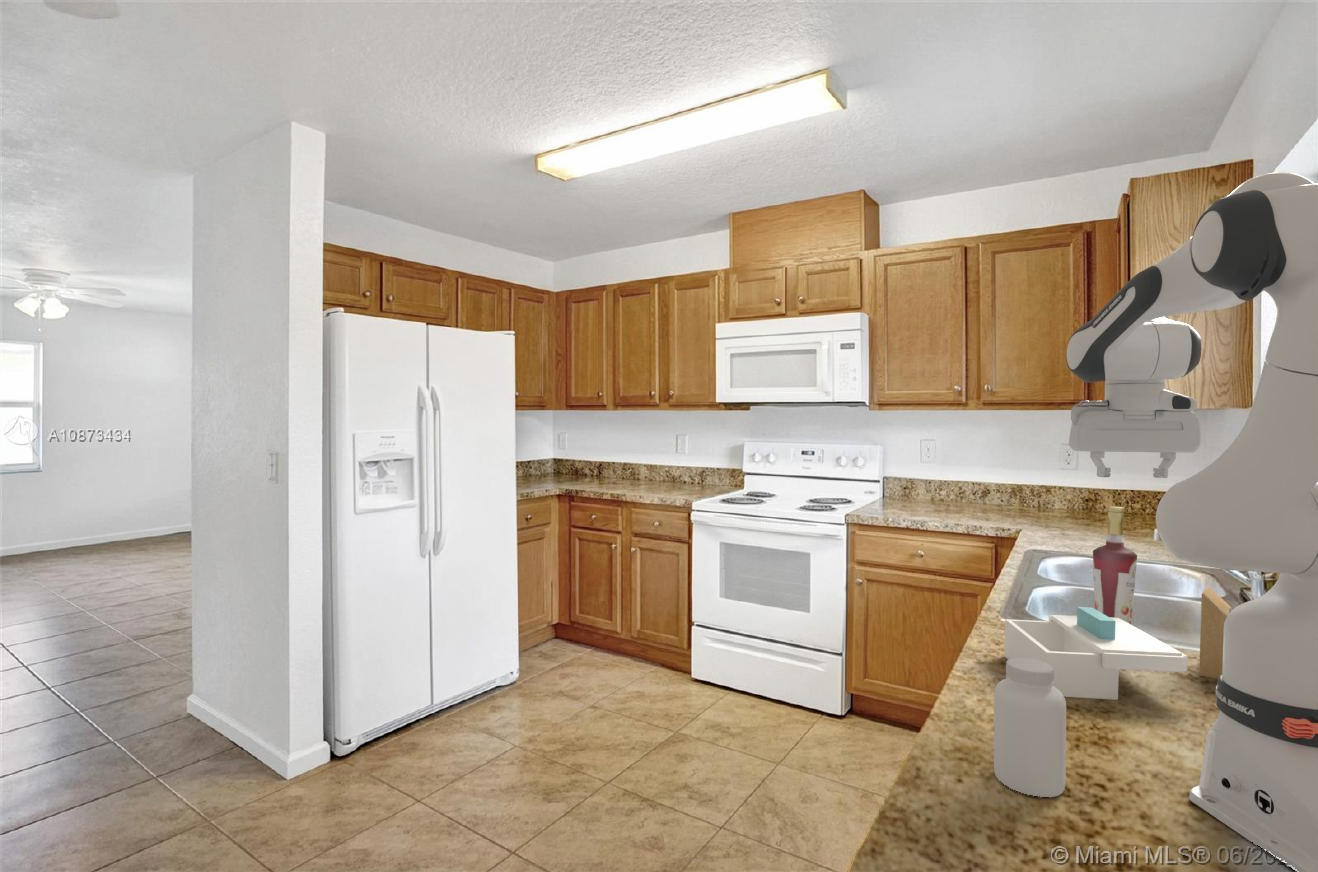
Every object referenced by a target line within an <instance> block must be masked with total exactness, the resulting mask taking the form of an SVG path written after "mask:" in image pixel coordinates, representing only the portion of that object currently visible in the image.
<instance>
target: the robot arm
mask: <svg viewBox="0 0 1318 872" xmlns="http://www.w3.org/2000/svg"><path fill="white" fill-rule="evenodd" d="M1263 292H1266V293H1267V294H1268V295H1269V296H1270V297H1271V298H1272V300H1273V301H1274V304H1275V307H1276V317H1275V319H1276V320H1275V323H1274V328H1273V330H1272V334H1271V337H1270V340H1269V343H1268V347H1267V350H1266V354H1265V356H1264V357H1265V359H1264V362H1263V366H1262V370H1261V374H1260V378H1259V382H1258V385H1257V388H1256V392H1255V395H1254V399H1253V402H1252V405H1251V408H1250V410H1249V411H1250V412H1249V414H1248V417H1247V419H1246V421H1245V424H1244V425H1243V427H1242V429H1241V430H1240V432H1239V434H1238V435H1237V436H1236V437H1235V439H1234V440H1233V441H1232V443H1231V444H1230V445H1229V446H1228V447H1227V449H1226V450H1225V451H1224V452H1222V453H1221V454H1220V455H1219V456H1218V457H1217V458H1216V459H1215V460H1214V461H1212V462H1211V463H1210V464H1209V465H1208V466H1206V467H1205V468H1203V469H1202V470H1200V471H1199V472H1196V473H1195V474H1194V475H1192V476H1190V477H1188V478H1186V479H1184V480H1182V481H1180V482H1177V483H1175V484H1173V485H1172V486H1171V487H1170V488H1168V490H1167V491H1166V492H1165V493H1164V494H1163V495H1162V497H1161V499H1160V501H1159V503H1158V505H1157V508H1156V513H1155V526H1156V531H1157V533H1158V535H1159V538H1160V539H1161V543H1163V545H1164V546H1165V547H1166V549H1167V550H1168V551H1169V552H1170V553H1171V554H1172V555H1173V556H1174V557H1175V558H1177V559H1178V560H1181V561H1185V562H1189V563H1193V564H1197V565H1200V566H1205V567H1210V568H1214V569H1221V570H1226V571H1240V572H1241V571H1242V572H1255V573H1256V572H1260V573H1275V574H1276V573H1279V576H1278V579H1277V580H1276V582H1274V585H1273V586H1272V587H1271V588H1270V589H1269V590H1268V591H1267V592H1265V593H1264V594H1263V595H1260V596H1259V597H1256V598H1254V599H1252V600H1249V601H1246V602H1243V603H1241V604H1239V605H1237V606H1236V607H1234V608H1232V609H1233V610H1232V611H1231V612H1230V614H1229V615H1228V616H1227V618H1226V620H1225V623H1224V642H1223V669H1222V675H1220V676H1219V677H1218V679H1217V685H1216V686H1215V695H1216V703H1215V704H1216V706H1217V709H1218V710H1219V713H1218V716H1217V717H1216V720H1215V721H1214V723H1213V725H1212V726H1211V728H1210V729H1209V730H1208V731H1207V734H1206V736H1205V737H1206V739H1205V743H1204V750H1203V757H1202V764H1201V771H1200V779H1199V784H1198V785H1195V786H1193V788H1192V787H1191V789H1190V791H1189V797H1188V798H1189V800H1190V801H1191V802H1192V803H1193V804H1195V805H1196V806H1198V807H1199V808H1201V809H1202V810H1204V811H1205V812H1207V813H1209V814H1210V815H1211V816H1213V817H1215V819H1217V820H1219V821H1220V822H1221V823H1223V824H1224V825H1226V826H1227V827H1229V828H1230V829H1232V830H1233V831H1235V832H1236V833H1238V834H1239V835H1240V836H1242V837H1244V838H1245V839H1246V840H1248V841H1249V842H1251V843H1252V842H1253V843H1252V844H1254V845H1255V846H1257V845H1258V846H1260V847H1262V848H1263V849H1266V850H1267V851H1270V852H1271V853H1272V854H1273V855H1275V856H1277V857H1279V858H1281V859H1282V860H1285V862H1287V863H1288V864H1289V865H1292V866H1293V867H1295V869H1297V871H1299V872H1318V183H1314V182H1313V181H1311V180H1310V179H1308V178H1306V177H1305V176H1302V175H1299V174H1296V173H1293V172H1292V173H1291V172H1281V171H1280V172H1279V171H1278V172H1270V173H1269V172H1268V173H1264V174H1260V175H1257V176H1254V177H1252V178H1249V179H1247V180H1246V181H1244V182H1243V183H1241V184H1240V185H1238V187H1236V188H1235V189H1234V190H1233V191H1232V192H1231V193H1230V194H1228V195H1227V196H1224V197H1222V198H1219V199H1217V200H1215V201H1214V202H1212V203H1211V204H1210V205H1209V206H1208V207H1207V208H1206V209H1205V211H1204V212H1202V214H1201V215H1200V216H1199V218H1198V220H1197V221H1196V224H1195V227H1194V229H1193V232H1192V236H1191V237H1190V239H1188V241H1186V242H1185V243H1184V244H1183V245H1181V246H1180V247H1179V248H1177V249H1176V250H1175V251H1174V252H1172V253H1171V254H1169V255H1167V256H1166V257H1165V258H1163V259H1161V260H1160V261H1158V262H1156V263H1155V264H1153V265H1151V266H1148V267H1146V268H1145V269H1142V270H1141V271H1140V272H1138V273H1136V274H1134V276H1133V277H1132V278H1131V279H1130V280H1128V281H1127V282H1126V284H1125V285H1123V286H1122V288H1120V289H1119V291H1118V292H1117V293H1116V294H1115V295H1114V296H1113V297H1112V298H1110V300H1109V301H1108V302H1107V303H1106V304H1105V305H1104V306H1103V307H1102V308H1101V310H1100V311H1099V312H1097V314H1095V316H1093V318H1092V319H1091V320H1089V321H1087V322H1085V323H1084V324H1082V325H1081V326H1080V327H1078V328H1077V330H1075V331H1074V332H1073V333H1072V334H1071V336H1070V337H1069V340H1068V343H1067V347H1066V353H1065V355H1066V356H1065V361H1066V366H1067V367H1068V370H1069V371H1070V372H1072V374H1073V375H1074V376H1076V377H1077V378H1078V379H1080V380H1082V381H1083V382H1085V383H1099V382H1104V400H1080V402H1077V403H1075V404H1074V405H1073V406H1072V408H1071V409H1070V420H1071V426H1070V432H1069V437H1068V438H1069V439H1068V445H1069V447H1070V449H1072V451H1073V452H1087V453H1089V452H1090V454H1089V455H1090V456H1089V457H1090V459H1091V461H1092V463H1093V464H1094V465H1095V467H1096V476H1097V477H1098V478H1110V477H1111V467H1108V466H1106V465H1105V464H1104V463H1105V462H1104V461H1103V459H1105V453H1108V452H1109V453H1112V452H1113V453H1159V454H1160V455H1159V458H1160V459H1162V461H1161V462H1160V464H1159V465H1158V467H1153V469H1152V471H1153V474H1152V476H1153V478H1156V479H1167V478H1168V476H1169V469H1170V467H1171V466H1172V465H1173V464H1174V463H1175V461H1176V460H1177V459H1176V458H1177V454H1178V453H1179V454H1180V453H1184V454H1185V453H1188V454H1189V453H1190V454H1191V453H1193V454H1194V453H1196V452H1197V450H1198V449H1199V448H1200V447H1201V426H1200V425H1201V424H1200V419H1199V417H1198V415H1197V413H1195V412H1193V411H1195V410H1196V409H1197V407H1198V401H1197V399H1196V398H1194V397H1190V396H1187V395H1184V394H1180V393H1176V392H1174V391H1171V390H1167V389H1166V380H1175V379H1179V378H1184V377H1185V376H1187V375H1188V374H1189V373H1191V372H1192V371H1193V370H1194V369H1195V368H1196V367H1197V366H1198V365H1200V362H1201V355H1202V338H1201V336H1200V334H1199V333H1198V331H1197V330H1196V329H1194V327H1193V326H1191V325H1190V324H1188V323H1186V322H1181V321H1175V320H1172V319H1169V318H1166V317H1171V316H1177V315H1182V314H1185V315H1186V314H1191V313H1199V312H1201V313H1202V312H1209V311H1217V310H1223V309H1228V308H1229V309H1230V308H1233V307H1236V306H1238V305H1241V304H1243V303H1245V302H1249V301H1252V300H1253V299H1254V298H1256V297H1258V295H1260V294H1261V293H1263ZM1258 846H1257V847H1258ZM1260 847H1259V848H1260ZM1263 849H1262V850H1263Z"/></svg>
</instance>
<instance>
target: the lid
mask: <svg viewBox="0 0 1318 872" xmlns="http://www.w3.org/2000/svg"><path fill="white" fill-rule="evenodd" d="M1048 621H1054V622H1056V623H1057V624H1059V625H1060V626H1062V627H1063V628H1065V629H1066V630H1067V631H1069V632H1070V633H1072V634H1073V635H1075V636H1076V637H1078V638H1079V639H1081V640H1082V641H1083V642H1085V643H1086V644H1088V645H1089V646H1091V647H1092V648H1094V649H1095V650H1097V651H1098V652H1100V653H1101V654H1102V667H1103V668H1108V669H1119V670H1131V671H1133V670H1134V671H1149V672H1150V671H1151V672H1167V673H1168V672H1169V673H1170V672H1171V673H1185V672H1187V671H1188V655H1187V654H1185V653H1183V652H1181V651H1179V650H1178V649H1175V648H1174V647H1173V646H1170V645H1168V644H1167V643H1165V642H1164V641H1161V640H1159V639H1157V638H1156V637H1154V636H1152V635H1150V634H1149V633H1147V632H1145V631H1143V630H1141V629H1140V628H1138V627H1136V626H1134V625H1132V624H1129V623H1127V622H1125V621H1123V620H1121V619H1119V618H1113V617H1108V616H1106V615H1104V614H1102V613H1101V612H1099V611H1097V610H1095V607H1094V608H1093V607H1091V606H1089V607H1088V606H1077V613H1076V615H1064V614H1063V615H1061V614H1050V615H1048Z"/></svg>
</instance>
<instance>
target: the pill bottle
mask: <svg viewBox="0 0 1318 872" xmlns="http://www.w3.org/2000/svg"><path fill="white" fill-rule="evenodd" d="M1005 673H1006V674H1005V679H1002V680H1000V681H999V682H997V684H996V686H995V688H994V692H993V693H994V694H993V697H994V698H993V705H994V706H993V771H994V775H995V777H996V779H997V778H998V779H997V780H998V781H999V782H1000V781H1001V782H1002V783H1003V784H1004V786H1005V785H1006V786H1008V787H1009V788H1008V787H1007V788H1008V789H1010V788H1011V789H1010V790H1012V789H1013V790H1012V791H1014V790H1017V791H1019V792H1022V793H1024V794H1023V795H1025V794H1027V795H1026V796H1029V795H1033V796H1032V797H1034V796H1038V797H1037V798H1042V797H1049V798H1055V797H1057V796H1060V795H1062V794H1063V793H1064V791H1065V789H1066V780H1067V779H1066V776H1067V775H1066V774H1067V773H1066V772H1067V765H1066V763H1067V758H1066V757H1067V701H1066V698H1065V697H1064V696H1063V694H1062V693H1061V692H1060V691H1059V690H1058V689H1057V688H1055V687H1054V686H1053V685H1054V668H1053V667H1052V666H1051V665H1049V664H1047V663H1045V662H1042V661H1039V660H1035V659H1029V658H1012V659H1009V660H1008V659H1006V662H1005ZM1001 782H1000V783H1001ZM1002 783H1001V784H1002ZM1003 784H1002V785H1003ZM1006 786H1005V787H1006ZM1019 792H1018V793H1019ZM1022 793H1021V794H1022ZM1039 796H1040V797H1039Z"/></svg>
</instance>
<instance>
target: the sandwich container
mask: <svg viewBox="0 0 1318 872" xmlns="http://www.w3.org/2000/svg"><path fill="white" fill-rule="evenodd" d="M1200 601H1201V607H1200V632H1199V633H1200V636H1199V638H1200V639H1199V665H1198V666H1199V670H1198V673H1199V676H1203V677H1207V678H1211V679H1216V680H1218V677H1219V676H1220V675H1222V669H1223V642H1224V623H1225V620H1226V618H1227V616H1228V615H1229V614H1230V612H1231V611H1232V610H1233V609H1234V608H1233V607H1232V606H1231V605H1230V604H1228V603H1227V602H1226V601H1225V600H1224V599H1223V598H1222V597H1221V596H1220V594H1218V593H1217V592H1216V591H1215V590H1213V588H1212V587H1211V586H1209V585H1206V587H1204V589H1203V591H1202V593H1201V600H1200Z"/></svg>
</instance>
